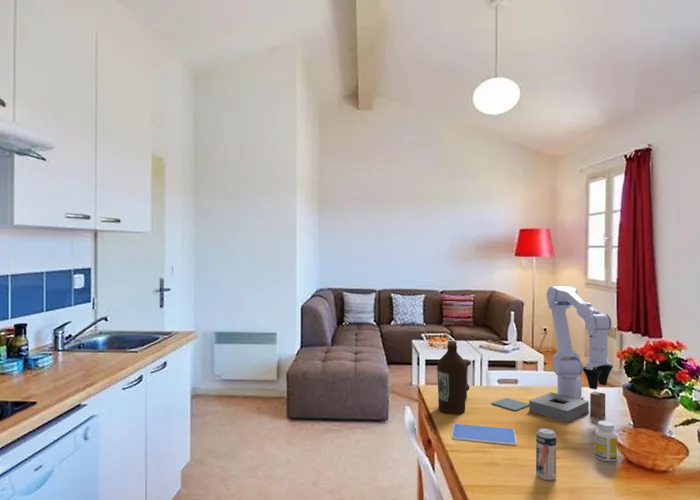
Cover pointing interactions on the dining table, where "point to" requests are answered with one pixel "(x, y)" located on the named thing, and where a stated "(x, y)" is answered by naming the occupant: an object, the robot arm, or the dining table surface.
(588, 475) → the dining table surface
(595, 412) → the tall wooden block
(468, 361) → the bolt
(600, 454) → the supplement bottle
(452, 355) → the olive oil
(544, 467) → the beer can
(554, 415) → the grey flat block
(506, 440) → the tablet computer
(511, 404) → the mat
